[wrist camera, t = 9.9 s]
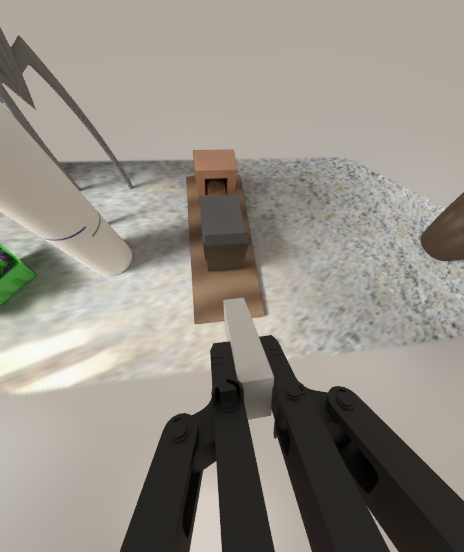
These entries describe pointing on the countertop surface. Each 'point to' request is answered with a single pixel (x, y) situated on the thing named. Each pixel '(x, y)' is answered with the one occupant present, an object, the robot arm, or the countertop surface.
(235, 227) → the metal sleeve
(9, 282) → the fruit basket
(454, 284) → the countertop surface
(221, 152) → the terracotta socket
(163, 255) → the countertop surface
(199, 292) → the walnut board
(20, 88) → the citrus juicer
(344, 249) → the countertop surface
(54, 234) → the cylindrical container
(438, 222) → the plant pot
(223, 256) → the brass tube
